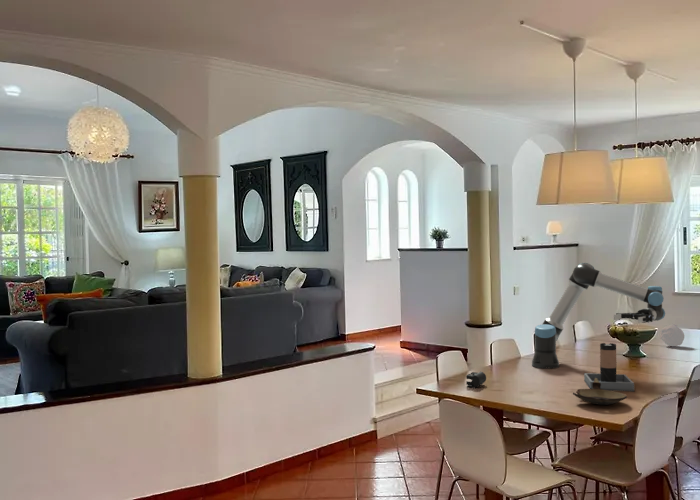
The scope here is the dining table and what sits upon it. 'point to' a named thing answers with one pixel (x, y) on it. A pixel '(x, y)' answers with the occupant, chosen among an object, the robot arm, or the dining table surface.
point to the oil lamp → (599, 395)
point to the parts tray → (620, 385)
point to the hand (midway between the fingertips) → (626, 318)
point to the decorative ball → (672, 335)
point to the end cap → (475, 379)
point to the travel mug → (608, 362)
